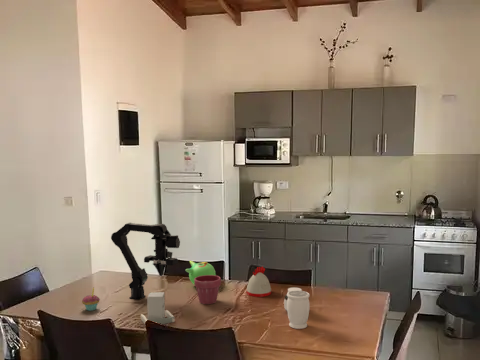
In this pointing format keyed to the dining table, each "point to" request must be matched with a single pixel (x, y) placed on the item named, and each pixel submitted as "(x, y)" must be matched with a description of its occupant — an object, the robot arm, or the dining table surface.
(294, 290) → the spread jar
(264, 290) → the chicken egg cooker
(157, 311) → the supplement box
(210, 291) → the plant pot
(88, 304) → the cupcake
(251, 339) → the dining table surface
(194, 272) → the toy bird
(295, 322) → the jar
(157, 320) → the bay
